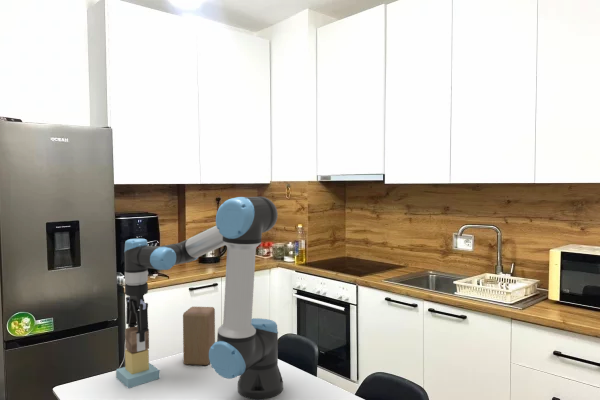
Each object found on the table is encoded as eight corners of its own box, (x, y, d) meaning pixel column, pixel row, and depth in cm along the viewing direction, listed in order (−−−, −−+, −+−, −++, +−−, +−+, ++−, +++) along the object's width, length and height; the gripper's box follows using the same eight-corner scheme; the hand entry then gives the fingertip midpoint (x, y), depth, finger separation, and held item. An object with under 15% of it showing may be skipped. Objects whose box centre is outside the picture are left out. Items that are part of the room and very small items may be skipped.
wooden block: (215, 355, 174) (215, 306, 173) (208, 366, 164) (207, 313, 163) (191, 355, 175) (191, 305, 174) (182, 365, 165) (181, 313, 164)
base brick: (159, 378, 154) (159, 370, 154) (128, 388, 146) (128, 379, 146) (146, 368, 162) (146, 360, 162) (116, 377, 154) (116, 369, 154)
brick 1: (149, 348, 154) (148, 329, 153) (132, 353, 149) (131, 333, 149) (142, 344, 158) (141, 325, 158) (125, 348, 154) (125, 328, 154)
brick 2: (148, 369, 154) (148, 349, 154) (132, 374, 150) (131, 354, 150) (142, 364, 158) (141, 345, 158) (125, 369, 154) (125, 349, 154)
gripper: (158, 285, 148) (159, 352, 149) (136, 277, 162) (136, 338, 163) (136, 289, 143) (137, 358, 144) (115, 280, 157) (116, 343, 158)
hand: (137, 347), depth 154 cm, fingers closed on brick 1, 6 cm apart
